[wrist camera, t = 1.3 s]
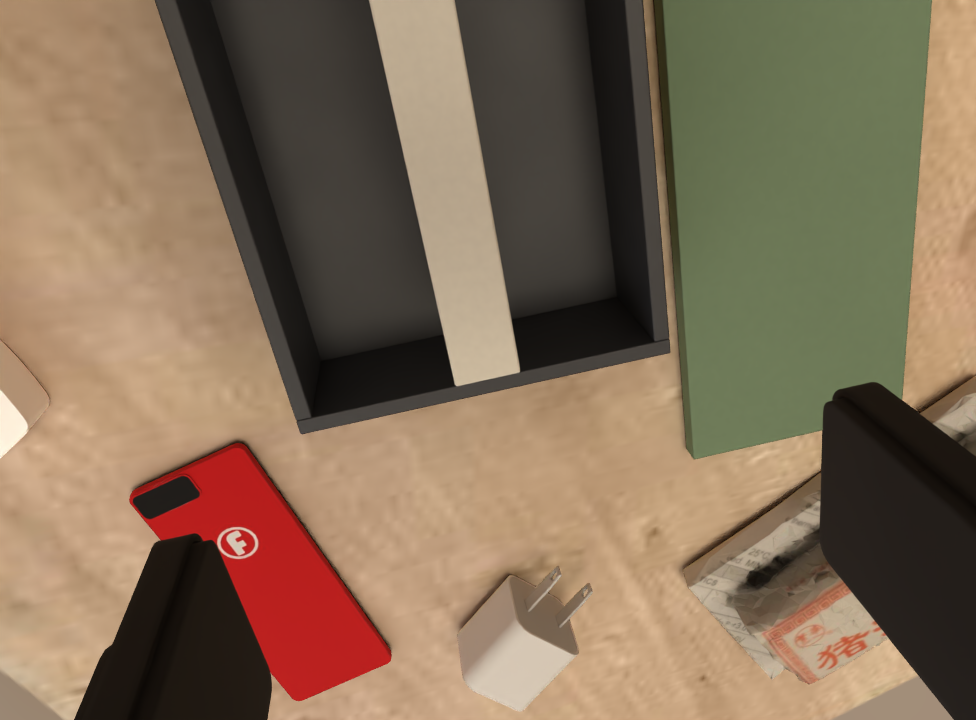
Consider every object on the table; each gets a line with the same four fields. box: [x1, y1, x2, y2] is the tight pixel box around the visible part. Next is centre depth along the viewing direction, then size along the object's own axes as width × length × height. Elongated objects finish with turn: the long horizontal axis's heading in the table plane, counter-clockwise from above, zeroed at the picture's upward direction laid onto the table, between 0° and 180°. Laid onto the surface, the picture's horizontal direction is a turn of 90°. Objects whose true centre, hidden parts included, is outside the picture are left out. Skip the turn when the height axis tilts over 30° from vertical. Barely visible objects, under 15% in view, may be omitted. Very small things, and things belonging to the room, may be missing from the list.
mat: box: [654, 0, 932, 459], centre depth 32 cm, size 22×10×1 cm, turn 10°
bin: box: [155, 0, 670, 434], centre depth 27 cm, size 17×14×6 cm
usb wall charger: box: [457, 566, 593, 711], centre depth 38 cm, size 4×7×4 cm, turn 143°
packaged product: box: [683, 376, 976, 684], centre depth 39 cm, size 18×5×10 cm
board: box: [369, 0, 520, 386], centre depth 25 cm, size 13×2×8 cm, turn 10°
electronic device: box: [129, 443, 391, 701], centre depth 37 cm, size 6×1×15 cm
